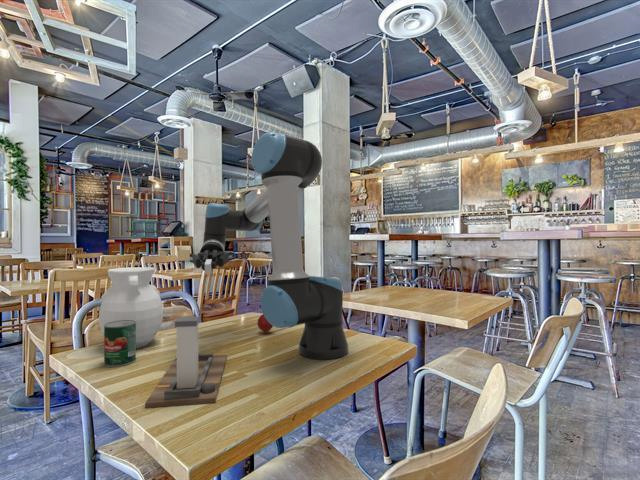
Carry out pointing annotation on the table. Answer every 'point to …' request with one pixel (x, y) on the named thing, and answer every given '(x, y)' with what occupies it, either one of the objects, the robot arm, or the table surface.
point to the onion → (264, 324)
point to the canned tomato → (119, 343)
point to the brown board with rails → (202, 393)
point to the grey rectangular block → (187, 351)
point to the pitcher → (133, 302)
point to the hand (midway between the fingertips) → (207, 269)
